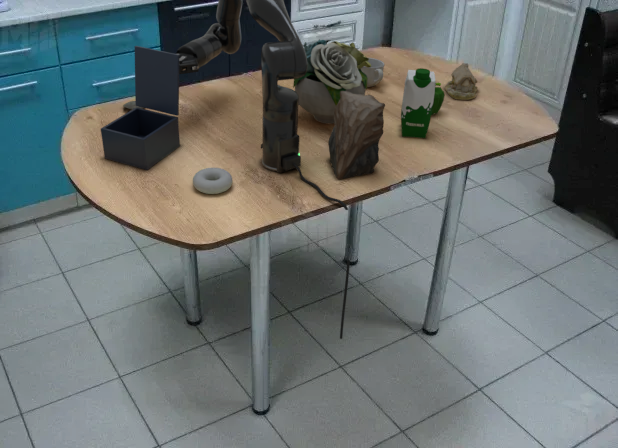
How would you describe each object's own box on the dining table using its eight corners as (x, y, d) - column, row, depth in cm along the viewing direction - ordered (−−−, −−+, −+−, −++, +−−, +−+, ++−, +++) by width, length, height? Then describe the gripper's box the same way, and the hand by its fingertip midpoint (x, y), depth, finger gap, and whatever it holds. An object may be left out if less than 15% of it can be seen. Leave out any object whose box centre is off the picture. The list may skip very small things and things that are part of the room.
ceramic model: (442, 83, 234) (447, 55, 228) (474, 85, 234) (480, 57, 228) (448, 99, 222) (452, 70, 217) (481, 101, 222) (487, 72, 217)
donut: (231, 197, 166) (234, 176, 174) (231, 185, 164) (233, 165, 172) (190, 196, 165) (195, 175, 173) (189, 184, 163) (194, 164, 171)
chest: (147, 170, 175) (144, 139, 170) (104, 158, 179) (100, 128, 174) (180, 146, 187) (178, 117, 182) (139, 135, 191) (136, 107, 186)
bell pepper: (412, 115, 211) (416, 85, 205) (417, 105, 217) (421, 76, 212) (438, 119, 209) (443, 89, 203) (443, 109, 215) (448, 80, 210)
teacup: (346, 79, 234) (348, 57, 229) (375, 76, 237) (377, 54, 232) (360, 94, 223) (362, 71, 218) (390, 92, 226) (393, 69, 221)
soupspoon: (143, 105, 210) (122, 108, 208) (141, 95, 208) (120, 98, 206) (159, 132, 193) (136, 136, 191) (157, 121, 191) (134, 125, 189)
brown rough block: (326, 157, 185) (330, 88, 174) (370, 154, 187) (377, 87, 176) (335, 179, 175) (341, 108, 164) (382, 177, 177) (390, 107, 166)
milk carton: (398, 137, 197) (407, 72, 186) (398, 124, 205) (406, 61, 193) (428, 140, 197) (439, 75, 185) (427, 127, 204) (437, 63, 193)
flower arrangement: (324, 144, 192) (329, 61, 178) (271, 113, 207) (272, 35, 194) (385, 123, 205) (394, 45, 192) (332, 95, 221) (337, 21, 207)
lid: (177, 55, 174) (179, 54, 175) (134, 46, 178) (136, 45, 179) (177, 115, 181) (178, 115, 182) (135, 105, 186) (137, 105, 186)
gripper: (175, 37, 195) (139, 55, 181) (214, 45, 190) (181, 64, 177) (177, 62, 199) (142, 81, 185) (215, 70, 195) (182, 91, 181)
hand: (161, 73), depth 181 cm, fingers closed
